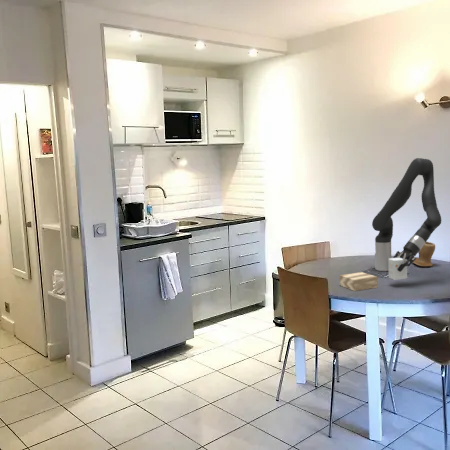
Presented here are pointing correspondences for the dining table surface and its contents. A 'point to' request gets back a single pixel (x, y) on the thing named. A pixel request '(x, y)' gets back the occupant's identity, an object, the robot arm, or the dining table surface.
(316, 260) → the dining table surface
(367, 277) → the oak block
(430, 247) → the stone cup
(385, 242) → the robot arm
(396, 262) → the small box
